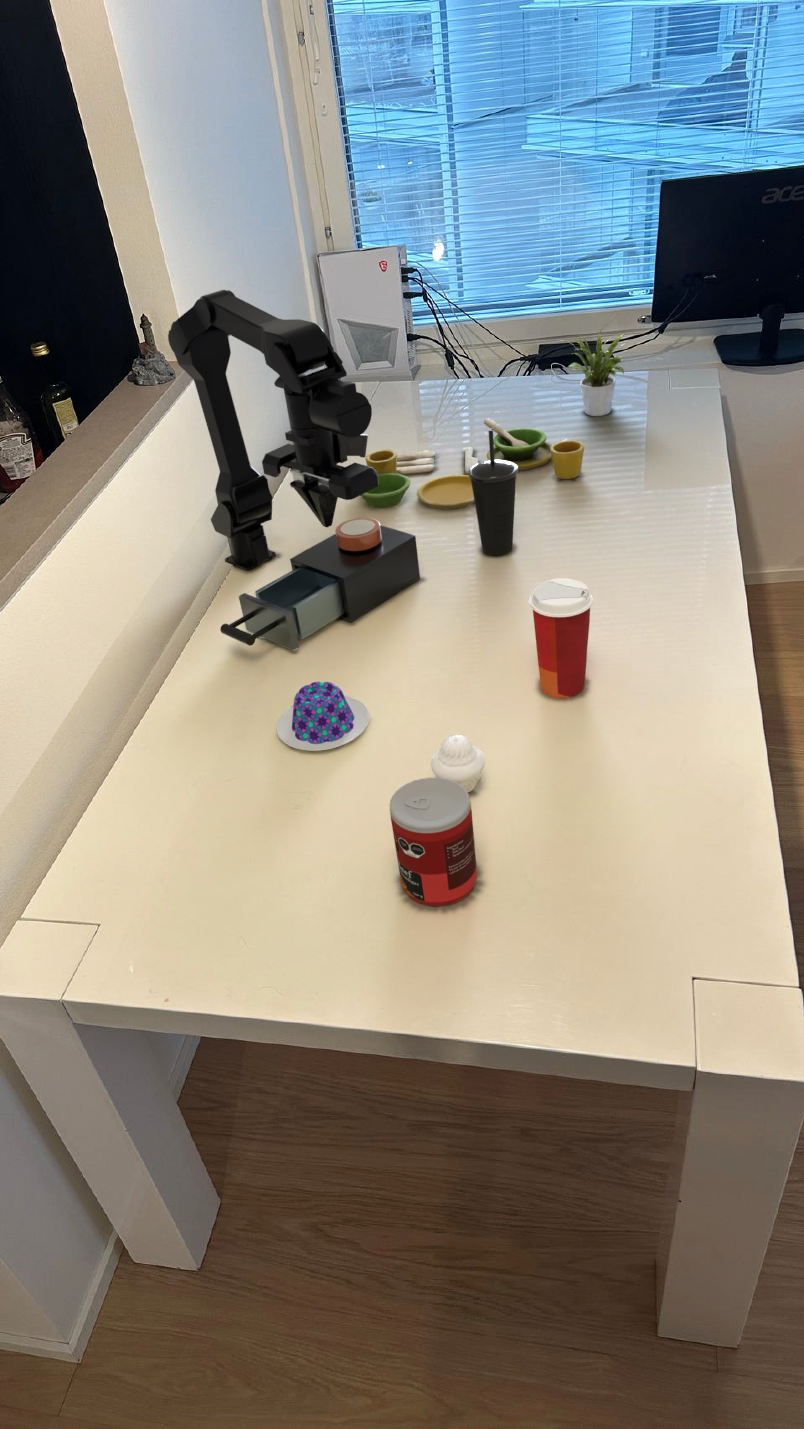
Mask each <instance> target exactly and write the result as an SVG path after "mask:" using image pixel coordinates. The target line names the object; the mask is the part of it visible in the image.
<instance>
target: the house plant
mask: <svg viewBox="0 0 804 1429" xmlns="http://www.w3.org/2000/svg"><path fill="white" fill-rule="evenodd" d="M602 331H603V329H600V331H599V333H598V335H597V340H596V347H595V353H592V352H591V350H590V346H589V343H588V342H587V340H586V339H585V337H583V336H581V335H578V334H577V335H578V336H577V337H576V339H575V341H576V343H577V344H579V347H580V348H575V349H574V351H578V352H579V353H578V352H574V353H572V355H573V354H575V355H576V356H577V357H579V359H580V360H581V362H582V363H583V365H584V366H583V365H582V364H580V363H578V362H572V363H570V364H569V365H568V368H572V369H571V371H572V370H573V371H574V370H577V372H579V371H581V372H582V373H583V374H584V375H585V378H583V379H581V380H580V382H579V385H580V390H581V396H582V403H583V408H584V413H585V414H586V415H587V416H591V417H601V416H605V415H606V416H607V415H608V414H610V412H611V410H612V405H613V398H614V393H615V386H616V374H617V372H616V371H615V370H617V371H619V372H621V373H622V374H623V375H625V370H624V368H623V367H621V366H616V365H618V364H620V363H622V362H623V363H624V362H625V361H624V360H623V356H616V357H612V356H613V354H614V353H615V348H616V347H617V346H618V344H619V342H620V340H621V338H622V337H623V336H624V335H625V334H626V332H624V333H621V334H620V335H617V337H616V338H615V339H614V340H613V341H612V343H611V344H610V345H609V347H608V348H607V350H604V351H603V347H604V346H605V345H606V343H607V342H608V341H609V340H610V339H611V338H612V337H613V335H611V336H610V337H608V338H607V339H606V340H605V342H604V343H603V340H602V337H601V334H602ZM578 337H580V338H582V339H583V341H584V343H583V341H582V340H581V339H580V338H578ZM557 341H559V342H566V343H569V344H570V345H573V346H574V344H573V343H572V342H570V341H567V340H563V339H557ZM626 344H627V342H625V343H622V344H621V345H619V346H618V347H617V349H619V348H620V347H622V346H623V345H626ZM580 351H581V352H583V353H584V354H585V356H586V357H584V356H583V354H582V353H581V352H580ZM586 359H587V360H586ZM610 375H613V376H614V377H612V376H610Z"/></svg>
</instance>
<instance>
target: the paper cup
mask: <svg viewBox="0 0 804 1429" xmlns="http://www.w3.org/2000/svg"><path fill="white" fill-rule="evenodd" d="M527 601H528V603H527V604H528V605H529V606H530V608H531V609H532V615H533V626H534V635H535V645H536V655H537V665H538V674H539V682H540V688H541V690H542V692H543V693H544V694H545V695H547V696H549V697H551V698H553V699H554V698H555V699H569V698H570V699H571V698H573V697H576V696H578V695H579V694H581V693H582V692H583V691H584V689H585V682H586V672H587V659H588V646H589V645H588V644H589V633H590V621H591V607H592V606H593V604H594V598H593V595H592V593H591V592H590V589H589V587H588V586H587V584H585V583H584V582H583V581H580V580H577V579H573V578H565V577H563V578H562V577H561V578H560V577H559V578H553V579H548V580H546V581H543V582H541V583H539V584H538V585H537V586H536V587H535V589H533V591H532V592H531V594H530V596H529V598H528V600H527Z"/></svg>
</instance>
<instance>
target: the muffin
mask: <svg viewBox="0 0 804 1429" xmlns="http://www.w3.org/2000/svg"><path fill="white" fill-rule="evenodd" d="M430 761H431V762H430V766H431V770H432V772H433V774H434V776H435V778H444V779H448V780H451V781H454V782H456V783H458V784H459V785H461V786H462V787H463V788H464V789H465V790H466V791H467V793H468V794H469V793H471V792H472V791H473V789H474V788H475V787H476V785H477V784H478V781H479V780H480V778H481V776H482V775H483V770H484V769H485V766H486V758H485V756H484V753H483V752H482V750H480V749H479V748H478V747H477V746H475V745H474V744H473V743H472V741H471V740H470V738H468V737H467V736H464V735H461V734H456V735H455V734H452V735H451V736H448V737H447V738H445V739H443V742H442V743H441V744H440V748H439V749H438V750H437V751H436V752H435V753H434V755H433V756H432V758H431V760H430Z"/></svg>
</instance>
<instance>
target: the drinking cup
mask: <svg viewBox="0 0 804 1429" xmlns="http://www.w3.org/2000/svg"><path fill="white" fill-rule="evenodd" d="M488 445H489V450H490V460H488V459H486V460H483V461H481V462H478V464H476V465H474V466H472V467H471V468H470V469H469V471H468V474H467V475H469V477H470V478H471V483H472V489H473V495H474V501H475V503H474V507H475V513H476V519H477V524H478V531H479V537H480V541H481V550H482V552H483V554H484V555H487V556H490V557H502V556H505V555H508V554H510V553H511V552H512V551H513V544H514V525H515V524H514V523H515V506H516V488H517V475H518V474H519V470H518V467H517V465H516V464H514V463H512V462H509V461H504V460H499V459H495V457H494V446H495V445H494V431H493V429H490V428H489V429H488Z"/></svg>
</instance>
